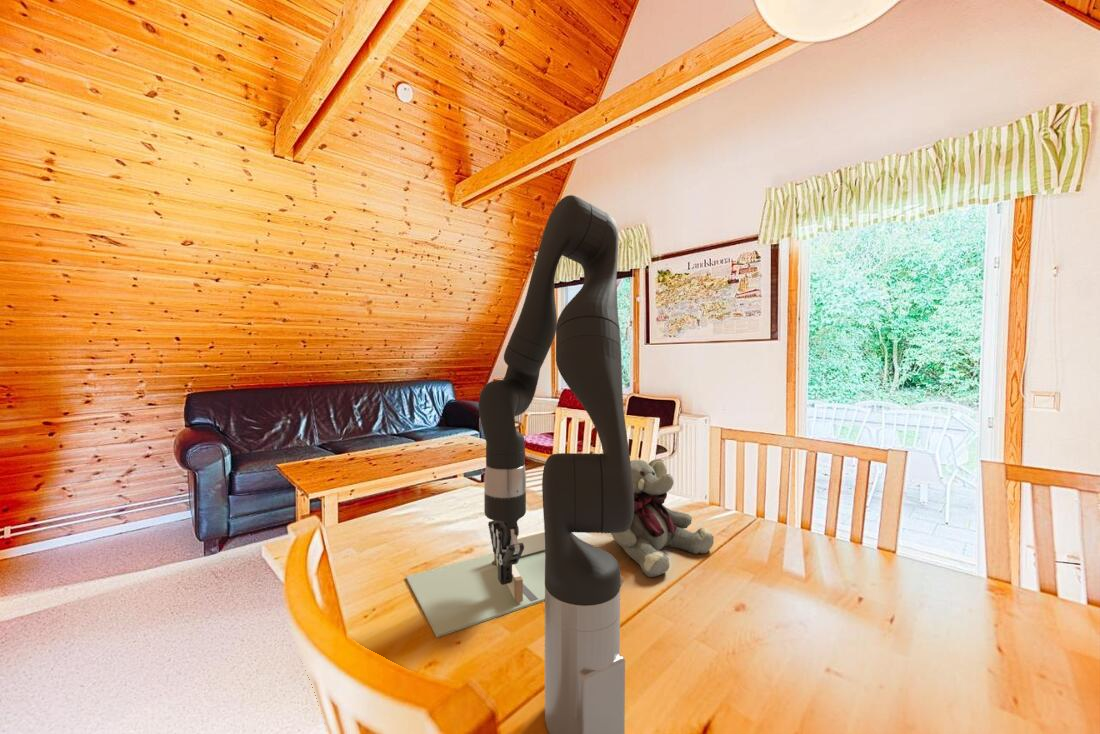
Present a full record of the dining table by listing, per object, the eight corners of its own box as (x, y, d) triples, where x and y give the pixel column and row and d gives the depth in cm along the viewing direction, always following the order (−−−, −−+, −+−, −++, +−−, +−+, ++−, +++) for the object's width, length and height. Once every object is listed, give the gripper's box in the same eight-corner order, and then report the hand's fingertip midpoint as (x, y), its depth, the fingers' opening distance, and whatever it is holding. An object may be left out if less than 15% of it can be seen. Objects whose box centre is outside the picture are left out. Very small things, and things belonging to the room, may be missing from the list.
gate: (496, 564, 93) (496, 545, 92) (502, 563, 93) (502, 544, 93) (516, 602, 79) (516, 580, 78) (522, 601, 79) (522, 579, 79)
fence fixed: (559, 549, 101) (559, 525, 101) (496, 567, 93) (495, 541, 93) (555, 546, 102) (555, 523, 102) (493, 564, 94) (492, 538, 94)
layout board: (602, 580, 87) (602, 578, 87) (436, 637, 71) (436, 634, 71) (548, 540, 105) (548, 538, 105) (405, 578, 89) (405, 575, 89)
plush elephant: (725, 556, 98) (727, 463, 97) (652, 584, 86) (654, 479, 85) (640, 516, 121) (641, 440, 120) (573, 534, 109) (574, 451, 108)
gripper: (539, 497, 76) (538, 595, 77) (511, 476, 88) (511, 561, 89) (497, 503, 73) (497, 606, 74) (475, 481, 85) (474, 569, 86)
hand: (504, 581), depth 81 cm, fingers closed
